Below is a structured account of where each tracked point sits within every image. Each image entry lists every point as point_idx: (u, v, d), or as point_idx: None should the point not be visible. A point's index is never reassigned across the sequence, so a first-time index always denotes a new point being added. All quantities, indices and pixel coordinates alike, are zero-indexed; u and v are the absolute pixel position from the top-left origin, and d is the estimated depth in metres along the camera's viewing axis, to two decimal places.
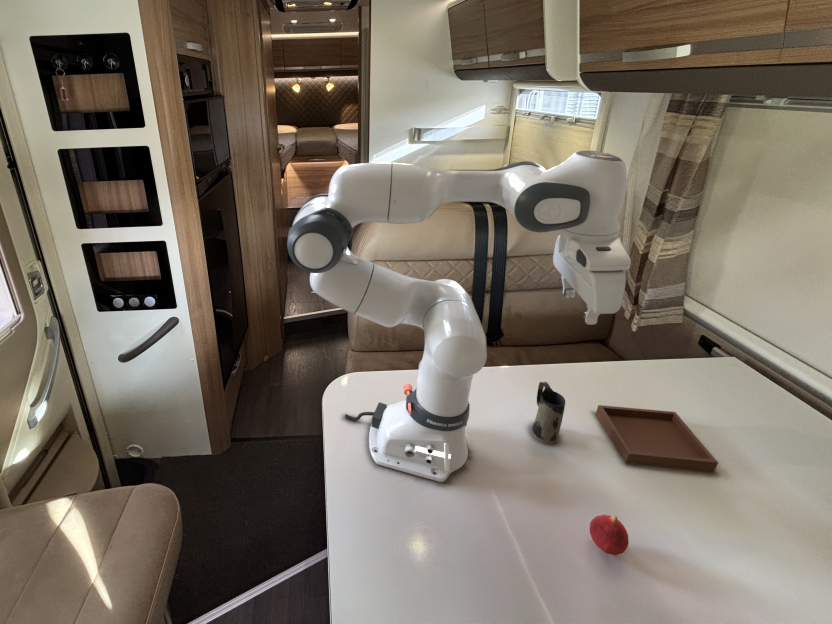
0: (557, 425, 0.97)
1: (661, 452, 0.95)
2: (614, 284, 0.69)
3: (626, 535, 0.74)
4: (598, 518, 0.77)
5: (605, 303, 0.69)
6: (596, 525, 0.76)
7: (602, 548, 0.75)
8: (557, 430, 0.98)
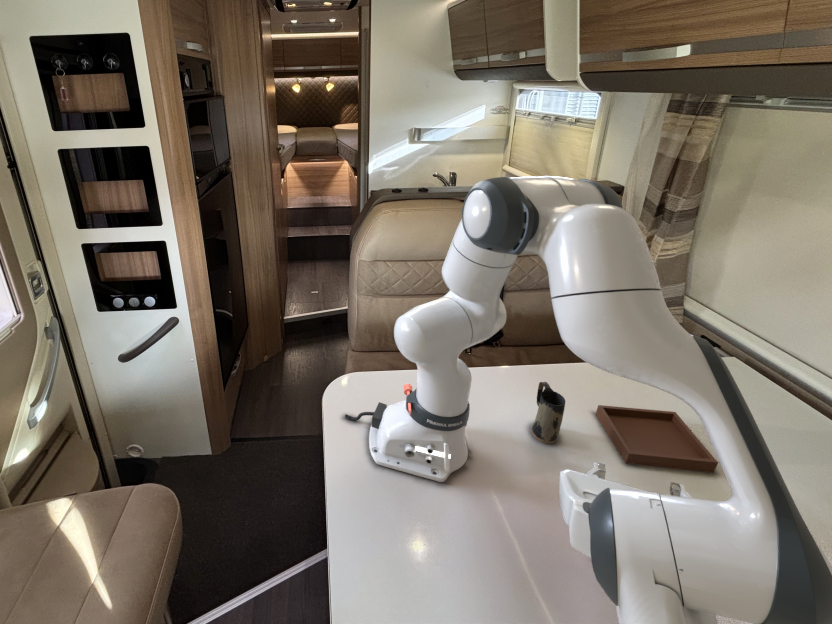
0: (557, 425, 0.97)
1: (661, 452, 0.95)
2: (563, 507, 0.60)
3: None
4: None
5: (559, 483, 0.63)
6: None
7: None
8: (557, 430, 0.98)
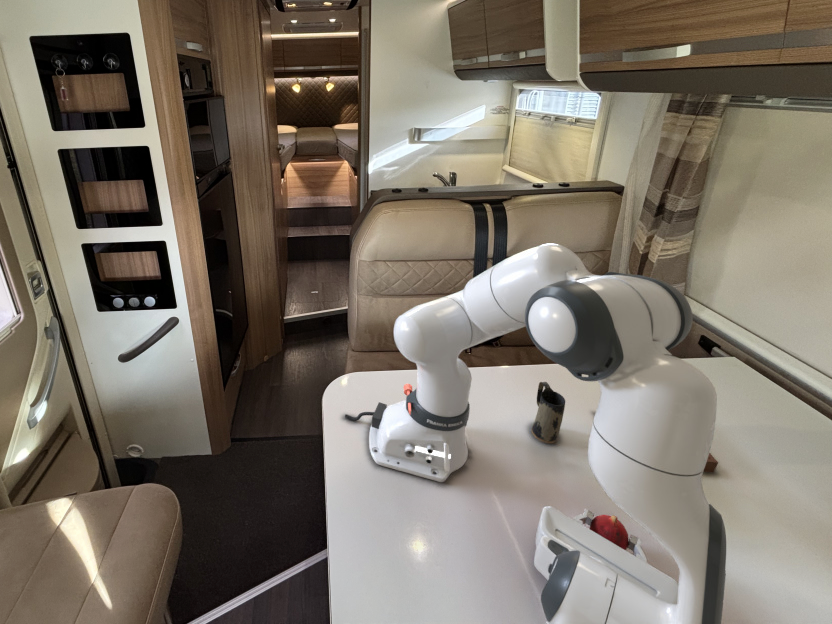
0: (557, 425, 0.97)
1: None
2: (536, 534, 0.76)
3: (626, 535, 0.74)
4: (598, 518, 0.77)
5: None
6: (596, 525, 0.76)
7: None
8: (557, 430, 0.98)
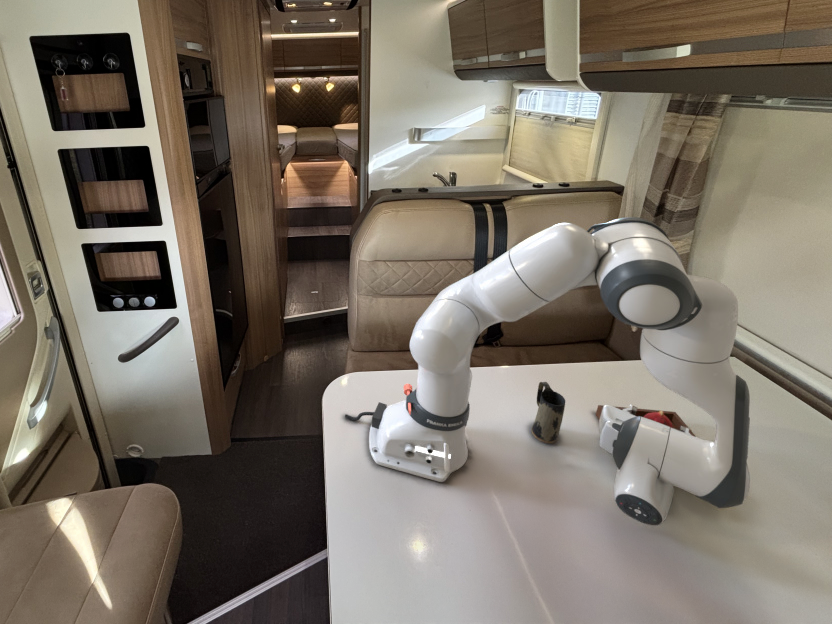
0: (557, 425, 0.97)
1: None
2: (599, 424, 0.97)
3: (671, 425, 0.95)
4: (648, 414, 0.98)
5: None
6: None
7: None
8: (557, 430, 0.98)
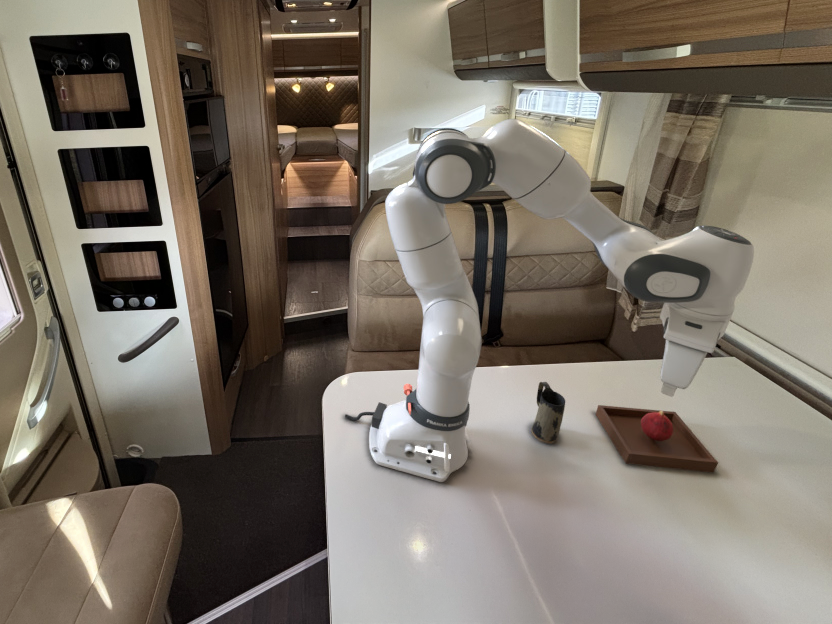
0: (557, 425, 0.97)
1: (661, 452, 0.95)
2: (687, 361, 0.69)
3: (671, 425, 0.95)
4: (648, 414, 0.98)
5: (671, 375, 0.70)
6: (647, 419, 0.97)
7: (652, 436, 0.96)
8: (557, 430, 0.98)
